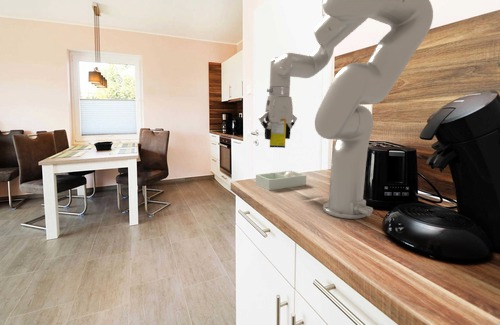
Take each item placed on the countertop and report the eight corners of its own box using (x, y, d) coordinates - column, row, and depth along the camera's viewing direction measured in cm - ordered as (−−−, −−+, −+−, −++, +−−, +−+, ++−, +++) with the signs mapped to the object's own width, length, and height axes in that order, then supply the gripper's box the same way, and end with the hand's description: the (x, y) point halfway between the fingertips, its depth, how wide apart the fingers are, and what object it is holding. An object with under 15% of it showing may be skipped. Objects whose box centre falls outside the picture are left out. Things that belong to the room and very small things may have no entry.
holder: (305, 186, 107) (306, 175, 107) (269, 191, 99) (269, 179, 98) (290, 180, 116) (291, 170, 115) (255, 185, 107) (255, 174, 107)
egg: (297, 183, 108) (298, 172, 108) (288, 185, 106) (288, 173, 105) (290, 181, 113) (290, 169, 112) (280, 182, 110) (281, 171, 110)
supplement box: (284, 146, 105) (286, 118, 103) (285, 148, 99) (286, 118, 97) (270, 145, 106) (271, 118, 104) (269, 147, 100) (270, 118, 98)
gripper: (264, 90, 91) (263, 140, 95) (304, 93, 99) (301, 139, 103) (254, 91, 98) (253, 138, 101) (292, 94, 106) (290, 137, 109)
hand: (277, 138), depth 102 cm, fingers closed on supplement box, 8 cm apart
